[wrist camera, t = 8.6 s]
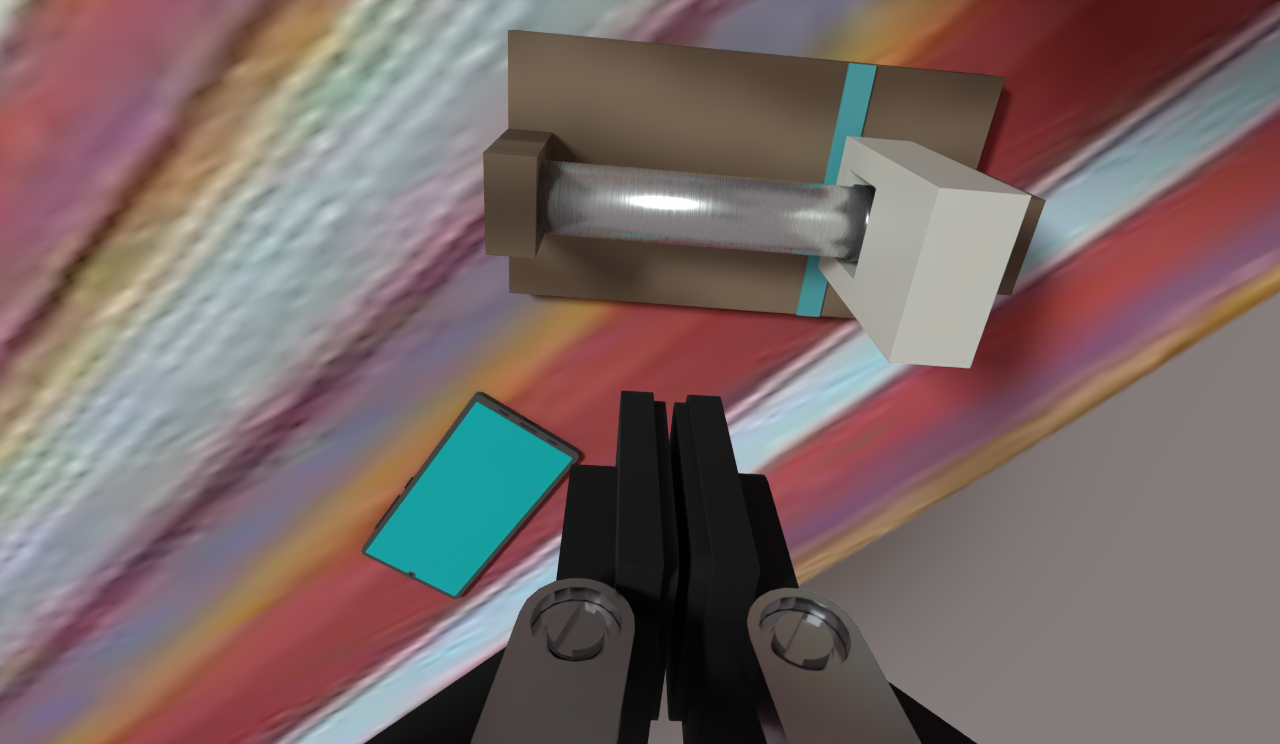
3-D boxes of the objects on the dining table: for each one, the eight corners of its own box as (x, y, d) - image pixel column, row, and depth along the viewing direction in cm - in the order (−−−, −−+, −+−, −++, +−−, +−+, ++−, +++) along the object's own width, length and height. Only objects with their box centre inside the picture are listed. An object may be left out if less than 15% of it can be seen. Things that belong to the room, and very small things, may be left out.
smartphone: (581, 455, 41) (456, 600, 46) (582, 447, 41) (459, 591, 47) (475, 392, 38) (357, 552, 44) (478, 385, 39) (362, 543, 45)
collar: (846, 135, 30) (939, 187, 21) (912, 141, 30) (1031, 195, 21) (817, 267, 33) (888, 362, 24) (877, 272, 33) (969, 368, 24)
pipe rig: (513, 29, 30) (480, 34, 24) (989, 75, 31) (1085, 91, 25) (513, 282, 36) (487, 343, 29) (917, 312, 37) (980, 377, 30)
